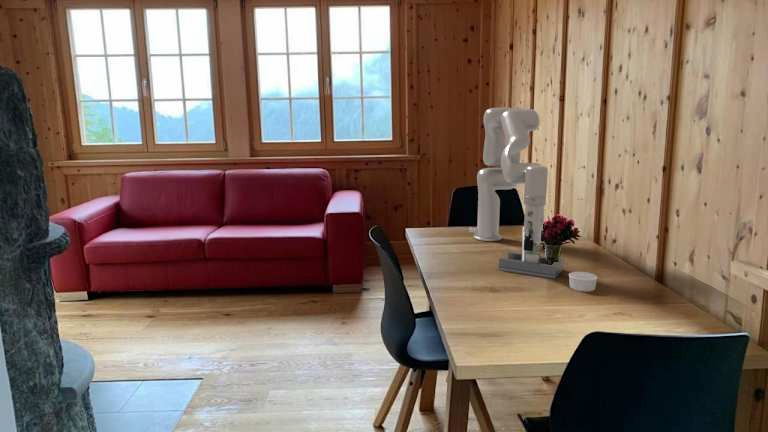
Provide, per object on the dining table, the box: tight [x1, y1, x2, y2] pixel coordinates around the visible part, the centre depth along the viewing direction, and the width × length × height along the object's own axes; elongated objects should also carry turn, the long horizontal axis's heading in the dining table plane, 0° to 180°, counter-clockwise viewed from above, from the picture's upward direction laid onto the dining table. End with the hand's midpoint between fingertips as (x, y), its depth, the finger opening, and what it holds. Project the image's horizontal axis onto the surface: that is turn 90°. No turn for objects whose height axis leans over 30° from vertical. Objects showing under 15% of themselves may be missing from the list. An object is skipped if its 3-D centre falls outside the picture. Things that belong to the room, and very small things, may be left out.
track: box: [497, 251, 564, 279], centre depth 197 cm, size 20×13×4 cm, turn 60°
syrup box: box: [521, 226, 542, 263], centre depth 196 cm, size 6×6×14 cm
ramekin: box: [568, 271, 598, 293], centre depth 177 cm, size 9×9×4 cm
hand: (532, 247), depth 196 cm, fingers open, 9 cm apart
